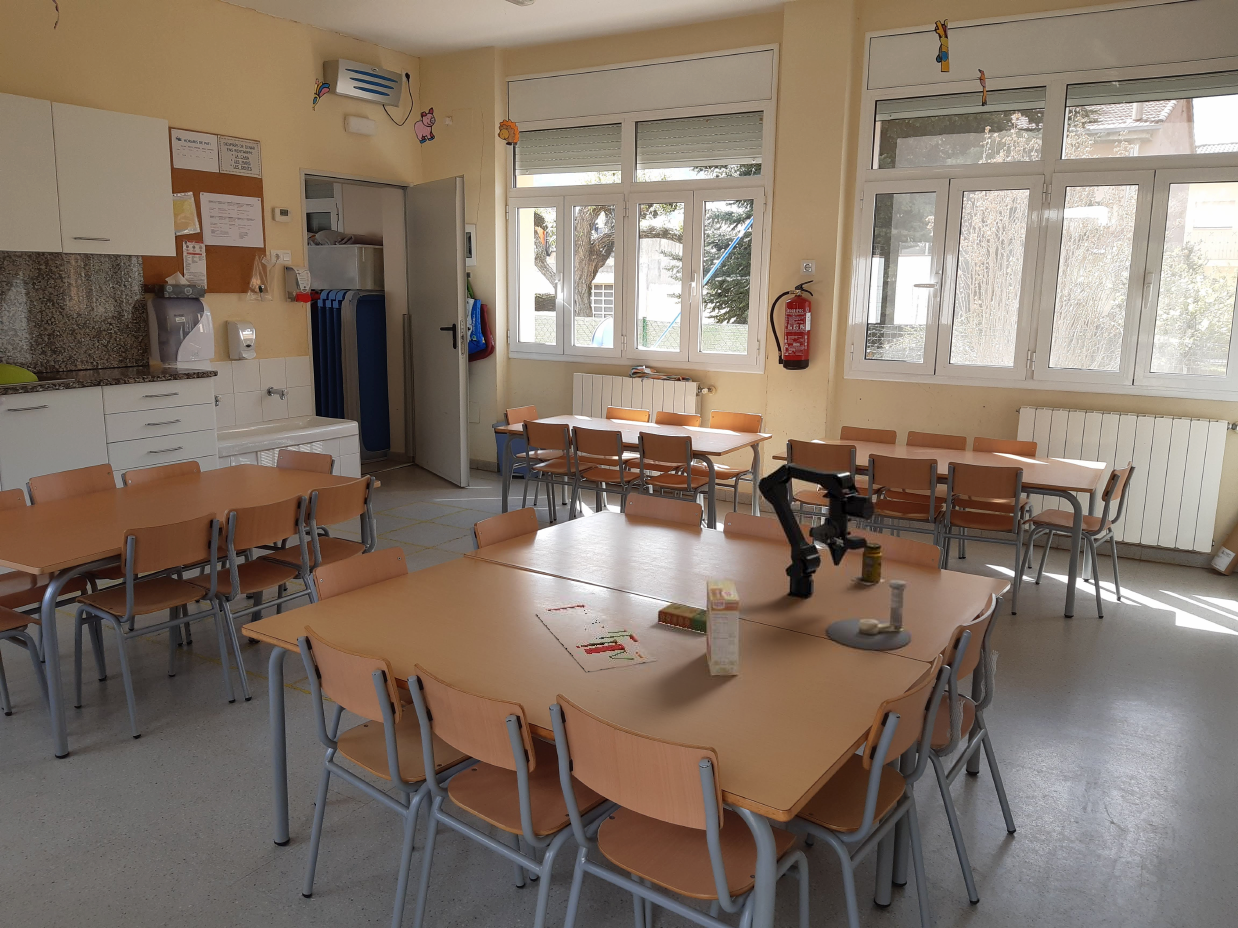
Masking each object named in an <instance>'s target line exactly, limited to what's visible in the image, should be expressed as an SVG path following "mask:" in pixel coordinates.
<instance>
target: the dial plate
mask: <svg viewBox="0 0 1238 928" xmlns="http://www.w3.org/2000/svg"><path fill="white" fill-rule="evenodd" d="M862 619H863V618H858V617H857V618H847V619H846V618H845V619H840V620H835V621H834V622H832V623H830V624H829V625H828V626H827V628H826V634H827V635H828V637H829V638H830V639H831V640H834V641H835V642H837V643H838V644H841V645H844V646H847V647H851V648H855V649H860V650H868V651H870V650H871V651H889V650H896V649H900V648H903V647H906V646H907V645H908V644H909V643H911V639H912V635H911V633H910V632H909V631H908V629H906V628H904V627H902V629H900V630H897V631H884V632H878V633H877V634H864V633H861V632H860V631H859V621H860V620H862ZM873 620H876V621H878V622H879V624H884V623H890V621H885V620H879V619H874V618H873Z"/></svg>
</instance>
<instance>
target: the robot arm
mask: <svg viewBox="0 0 1238 928" xmlns="http://www.w3.org/2000/svg"><path fill="white" fill-rule="evenodd" d="M792 479H795V480H798V481H802V482H807V483H811V484H814V485H818V486H820V487H821V488H822V489H823V490H825V491H826V492H825V493H824V494H823V495H822V498H824V499H828V510H827V511H828V516H825V517H824V521H823V523H822V524H819V525H818V526H811V527H810V529H809V530H808V531H809V532H808V533H809V534H808V536H809V537H810V538H813V541H814V542H820V543H821V544H824V545H825V546H826V547H827V548H828V550H829V553H830V556H831V559H832V563H833V565H834V566H839V565H840V564H841V561H842V559H843V558H844V556H845V554H846V552H847V551H848V550H850V551H854V550H855V551H856V550H861V549H864V548H867V543H868V541H867V539H866V537H863V536H860V535H851V533H852V532H851V531H849V529H848V528H849V522H852V519H853V518H854V519H860V520H864V521H870V520H871V519H872V517H873V515H874V512H875V505H874V502H873V501H872V500H871V496H868V495H861V493H860V491H859V489H858V488H857V486H856V484H855V482H854V480H853V477H852V475H851V473H850V472H848V471H846V470H845V471H843V470H842V471H841V470H833V471H831V470H830V471H827V470H825V471H824V470H821V469H816V468H813V467H809V466H808V467H807V466H803V465H799V464H796V463H793V462H789V463H783V464H782V465H780V467H778V468H777V469H776V470H774V471H773V472H771V473H769V474H768V475H767V476H764V477H762V478H761V479H760V480H759V482H758V485H757V486H758V487H757V488H758V490H759V493H760V494H761V495H762V498H764V500H765V501H766V502H768V503H769V504H770V505H771V506H772V507H773V510H774V513H775V514H776V516H777V519H778V520H779V523H780V525H781V528H782V530H783V533H784V534H785V537H786V539H787V541H788V543H789V545H790V560H791V563H790V565H788V567H786V568H785V574H786V576H787V577H789V591H788V592H787V596H793V597H798V598H806V599H807V598H809V597H810V596H811V595H813V594H814V593H815V592H814V591H815V590H814V586H815V584H814V583H815V581H814V579H813V575H815V574H816V572H817V570H818V569H819V568H820V566H821V563H822V560H821V553H819V551H818V547H817V546H816V544H814V543H813V544H810V543H809V542H808V541H807V540H806V538H805V536H804V533H803V532H802V529H801V527H800V525H799V522H798V521H797V518H796V516H795V514H794V512H793V510H792V507H791V505H790V503H789V500H788V492H789V491H788V490H789V489H788V487H787V485H788V484H789V483H790V482H792ZM850 535H851V536H850Z"/></svg>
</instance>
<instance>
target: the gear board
mask: <svg viewBox="0 0 1238 928" xmlns="http://www.w3.org/2000/svg"><path fill="white" fill-rule="evenodd" d="M585 606H586V605H585V604H577V605H574V606H566V607H561V608H560V607H558V608H551V609H550V608H549V609H547V610H548V611H551V610H555V611H561V610H560V609H563V610H568V609H567V608H570V609H576V608H575V607H580V608H582V607H583V608H584V607H585ZM584 611H585V610H584ZM551 612H552V611H551ZM585 614H587V613H585ZM596 621H597V620H596ZM595 623H597V622H595ZM599 623H600V622H599ZM592 624H594V623H592ZM602 628H604V626H603V627H602ZM585 630H586V629H585ZM627 631H628V630H626V629H624V631H618V632H608V633H619V632H627ZM624 636H629V637H630V639H632V640H633V641H634V642H638V641H639V640H638V639H637V638H636V637H635V636H634V634H632V633H630V635H620V636H610V637H601V638H599V639H604V638H614V637H624ZM596 639H597V638H596ZM605 643H608V644H609V643H615V645H608V646H602V647H595V648H589V649H584V650H585V652H586V653H587V654H592V653H600V652H606V651H615V650H624V651H623V652H620V653H617V654H615V655H612V656H616V655H618V654H621V653H624V652H626V650H625V647H624V646H623V645H622V644H617V643H618V642H617V640H616V639H614V640H613V641H610V642H600V643H589V644H587V645H581V647H588V646H595V645H596V646H597V645H604V644H605ZM620 646H621V647H620ZM576 647H577V648H580V647H579V646H576ZM626 653H627V652H626ZM636 654H638V652H636ZM612 656H609V657H610V658H612ZM638 656H639V657H640V658H643V657H642V656H641V655H640V654H639V655H638ZM612 659H627V660H634V658H612Z"/></svg>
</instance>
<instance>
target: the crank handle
mask: <svg viewBox="0 0 1238 928" xmlns="http://www.w3.org/2000/svg"><path fill="white" fill-rule="evenodd" d="M889 588H890V589H891V596H890V598H891V599H890V616H889V617H890V618H889V620H890V621H889V623H884V624H879V622H878V621H876V620H877V619H874V618H873V619H874V620H873V619H872V618H861V619H862V620H860V621H859V631H860V632H861V633H864V634H877V633H878V632H884V631H897V630H900V629H902V628H903V619H904V618H903V616H904V601H905V600H904V599H905V597H904V595H905V589H907V581H903V580H901V579H899V580H898V579H894V580H893V579H892V580H890V581H889Z"/></svg>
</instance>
